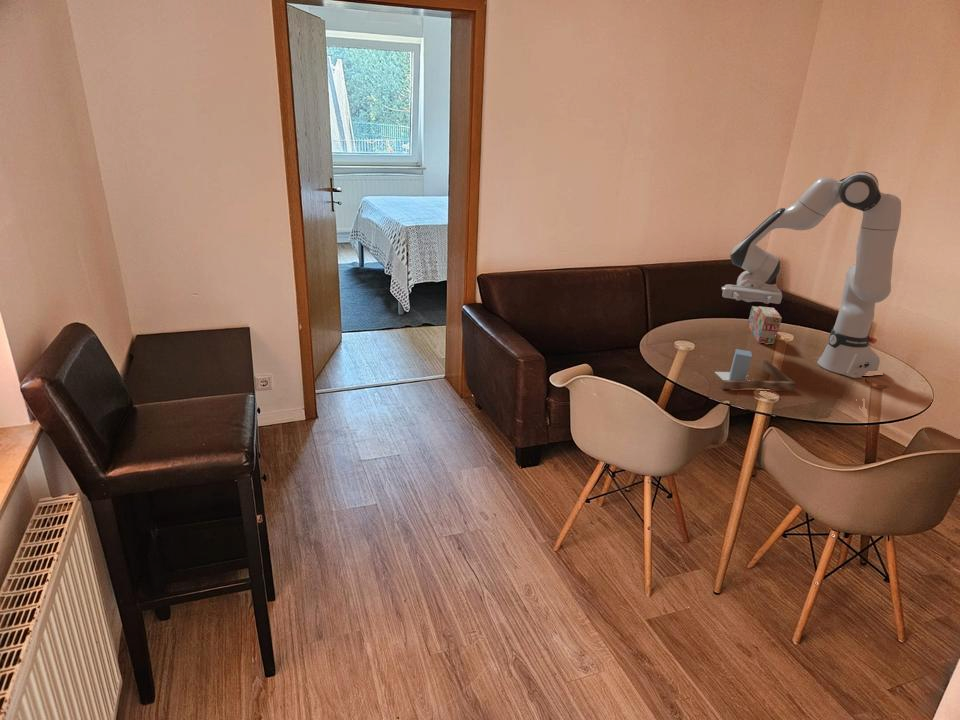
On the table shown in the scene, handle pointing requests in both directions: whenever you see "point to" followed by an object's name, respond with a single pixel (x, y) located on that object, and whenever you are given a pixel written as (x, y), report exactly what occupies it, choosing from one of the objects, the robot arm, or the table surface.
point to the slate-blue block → (740, 365)
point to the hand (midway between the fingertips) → (752, 299)
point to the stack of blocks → (764, 323)
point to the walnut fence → (780, 385)
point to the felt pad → (723, 375)
